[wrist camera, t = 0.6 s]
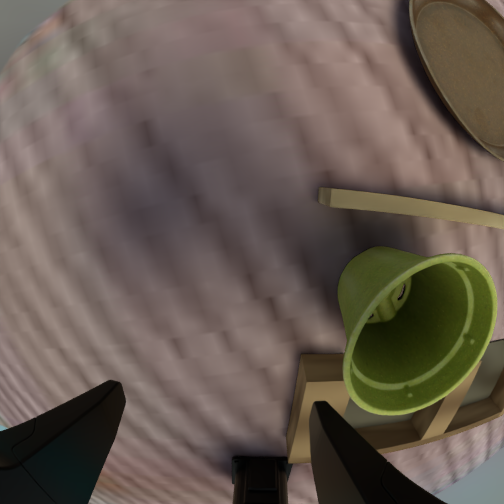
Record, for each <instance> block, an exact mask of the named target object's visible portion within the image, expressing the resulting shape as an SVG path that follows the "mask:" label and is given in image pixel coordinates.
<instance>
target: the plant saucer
mask: <svg viewBox="0 0 504 504" xmlns="http://www.w3.org/2000/svg"><path fill="white" fill-rule="evenodd" d="M409 18H410V26H411V31H412V36H413V40H414V43H415V47H416V50H417V53H418V55H419V58H420V60H421V63H422V65H423V68H424V70H425V72H426V74H427V76H428V78H429V80H430V82H431V84H432V85H433V87H434V89H435V91H436V92H437V94H438V96H439V97H440V99H441V100H442V102H443V103H444V105H445V106H446V108H447V109H448V110H449V112H450V113H451V114H452V116H453V117H454V118H455V119H456V121H457V122H458V123H459V124H460V125H461V126H462V127H463V129H464V130H465V131H466V132H467V133H468V134H469V135H470V136H471V137H472V138H473V139H474V140H475V141H476V142H478V143H479V144H480V145H481V146H482V147H483V148H484V149H486V150H487V151H488V152H490V153H491V154H492V155H494V156H495V157H497V158H498V159H500V160H502V161H504V17H503V16H502V15H501V14H500V13H499V12H498V11H497V10H496V9H495V8H493V6H492V5H490V4H489V3H488V2H487V1H486V0H410V1H409Z"/></svg>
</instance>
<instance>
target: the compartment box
mask: <svg viewBox="0 0 504 504" xmlns="http://www.w3.org/2000/svg"><path fill="white" fill-rule="evenodd" d="M318 202H319V203H321V204H324V205H326V206H329V207H336V208H347V209H358V210H369V211H378V212H388V213H397V214H405V215H414V216H422V217H429V218H437V219H444V220H451V221H458V222H464V223H471V224H477V225H483V226H489V227H495V228H501V229H504V215H501V214H497V213H492V212H488V211H483V210H478V209H473V208H468V207H463V206H457V205H452V204H446V203H441V202H435V201H429V200H422V199H416V198H409V197H402V196H395V195H388V194H380V193H372V192H363V191H354V190H345V189H334V188H324V187H319V193H318ZM343 357H344V354H301V357H300V364H299V370H298V376H297V382H296V388H295V393H294V399H293V404H292V410H291V415H290V420H289V425H288V430H287V435H286V443H287V457H288V464H289V463H311V455H310V435H309V417H310V413H311V409H312V405H313V402H314V401H327V402H328V403H329V404H330V405H331V406H332V407H333V408H334V409H335V410H336V411H337V412H338V413H339V414H340V415H341V416H342V417H343V418H344V419H345V420H346V421H347V422H348V423H349V424H350V425H351V426H352V427H353V428H354V429H355V430H356V431H357V432H358V433H359V434H360V435H361V436H362V437H363V438H364V439H365V440H366V441H367V442H368V443H369V444H370V445H372V446H373V447H374V448H375V449H376V450H377V451H378V452H379V453H380V454H384V453H389V452H394V451H399V450H403V449H407V448H412V447H416V446H419V445H423V444H427V443H430V442H434V441H437V440H440V439H443V438H446V437H450V436H452V435H455V434H458V433H461V432H464V431H467V430H469V429H472V428H474V427H477V426H479V425H482V424H484V423H486V422H489V421H491V420H493V419H496V418H498V417H500V416H502V415H503V414H504V339H502V340H497V341H493V342H489V344H488V346H487V348H486V350H485V352H484V354H483V356H482V358H481V359H480V361H479V362H478V364H477V365H476V366H475V368H474V369H473V370H472V372H471V373H470V374H469V375H468V376H467V377H466V378H465V380H464V381H463V382H462V383H461V384H460V385H459V386H458V387H456V388H455V389H454V390H453V391H452V392H450V393H449V394H448V395H447V396H445V397H444V398H442V399H440V400H438V401H437V402H435V403H434V404H432V405H430V406H427V407H425V408H423V409H420V410H417V411H415V412H412V413H408V414H402V415H378V414H374V413H371V412H368V411H366V410H364V409H362V408H360V407H359V406H358V405H357V404H356V403H355V402H354V401H353V400H352V399H351V397H350V396H349V394H348V392H347V389H346V387H345V383H344V379H343V369H342V367H343Z"/></svg>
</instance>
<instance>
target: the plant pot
mask: <svg viewBox="0 0 504 504" xmlns="http://www.w3.org/2000/svg"><path fill="white" fill-rule="evenodd" d="M403 284H405V285H406V288H405V291H404V294H403V296H402V298H401V299H400V300H398V296H399V295H400V293H401V291H402V288H403ZM338 301H339V305H340V310H341V313H342V317H343V322H344V327H345V332H346V337H347V344H346V348H345V352H344V357H343V367H342V369H343V379H344V383H345V387H346V389H347V392H348V394H349V396H350V397H351V399H352V400H353V401H354V402H355V403H356V404H357V405H358V406H359V407H360V408H362V409H364V410H366V411H368V412H371V413H374V414H378V415H402V414H408V413H412V412H415V411H417V410H420V409H423V408H425V407H427V406H430V405H432V404H434V403H435V402H437V401H438V400H440V399H442V398H444V397H445V396H447V395H448V394H449V393H450V392H452V391H453V390H454V389H455V388H456V387H458V386H459V385H460V384H461V383H462V382H463V381H464V380H465V378H466V377H467V376H468V375H469V374H470V373H471V372H472V370H473V369H474V368H475V366H476V365H477V364H478V362H479V361H480V359H481V358H482V356H483V354H484V352H485V350H486V348H487V346H488V344H489V342H490V340H491V337H492V334H493V330H494V326H495V322H496V316H497V294H496V289H495V285H494V282H493V280H492V277H491V275H490V274H489V272H488V271H487V269H486V268H485V267H484V266H483V265H482V264H480V263H479V262H478V261H477V260H475V259H473V258H471V257H468V256H465V255H462V254H454V253H448V254H440V255H435V256H432V257H424V256H420V255H416V254H412V253H408V252H405V251H401V250H398V249H394V248H390V247H385V246H377V247H372V248H369V249H368V250H366V251H364V252H362V253H361V254H359V255H357V256H356V257H354V258H353V259H352V260H351V261H350V262H349V263H348V264H347V266H346V267H345V269H344V270H343V272H342V274H341V276H340V280H339V283H338ZM371 314H373V315H374V316H373V317H371V318H369V317H370V315H371Z"/></svg>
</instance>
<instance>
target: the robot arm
mask: <svg viewBox="0 0 504 504" xmlns="http://www.w3.org/2000/svg"><path fill="white" fill-rule="evenodd" d="M125 404H126V398H125V395H124V391H123V387H122V384H121V383H120V382H118V381H114V380H108V381H106V382H104V383H102V384H100V385H99V386H97V387H95V388H93V389H91V390H89V391H87V392H85V393H83V394H81V395H79V396H77V397H75V398H73V399H71V400H69V401H67V402H66V403H64V404H62V405H59V406H57V407H55V408H53V409H51V410H49V411H47V412H45V413H43V414H41V415H39V416H37V417H36V418H33V419H30V420H28V421H26V422H24V423H22V424H19V425H17V426H14V427H11V428H9V429H6V430H3V431H0V504H88V502H89V500H90V497H91V495H92V492H93V490H94V487H95V485H96V482H97V480H98V477H99V475H100V473H101V470H102V468H103V465H104V463H105V461H106V458H107V456H108V454H109V451H110V449H111V447H112V444H113V442H114V440H115V437H116V434H117V431H118V427H119V424H120V421H121V417H122V414H123V411H124V408H125ZM309 435H310V455H311V464H312V470H313V475H314V481H315V486H316V491H317V497H318V502H319V504H447V503H445V502H443V501H441V500H440V499H438V498H437V497H435V496H434V495H432V494H430V493H429V492H427V491H426V490H424V489H423V488H421V487H420V486H418V485H417V484H415V483H414V482H413V481H411V480H410V479H408V478H407V477H406V476H405V475H403V474H402V473H401V472H400V471H399V470H397V469H396V468H395V467H394V466H393V465H392V464H391V463H390V462H387V460H386V459H385V458H384V457H383V456H382V455H381V454H380V453H379V452H378V451H377V450H376V449H375V448H374V447H373V446H372V445H370V444H369V443H368V442H367V441H366V440H365V439H364V438H363V437H362V436H361V435H360V434H359V433H358V432H357V431H356V430H355V429H354V428H353V427H352V426H351V425H350V424H349V423H348V422H347V421H346V420H345V419H344V418H343V417H342V416H341V415H340V414H339V413H338V412H337V411H336V410H335V409H334V408H333V407H332V406H331V405H330V404H329V403H328V402H327V401H314V402H313V405H312V409H311V413H310V417H309ZM292 465H293V463H289V464H288V458H258V457H238V456H235V457H233V458H232V484H234V495H233V504H288V492H287V481H288V478H289V475H290V472H291V468H292Z"/></svg>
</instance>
